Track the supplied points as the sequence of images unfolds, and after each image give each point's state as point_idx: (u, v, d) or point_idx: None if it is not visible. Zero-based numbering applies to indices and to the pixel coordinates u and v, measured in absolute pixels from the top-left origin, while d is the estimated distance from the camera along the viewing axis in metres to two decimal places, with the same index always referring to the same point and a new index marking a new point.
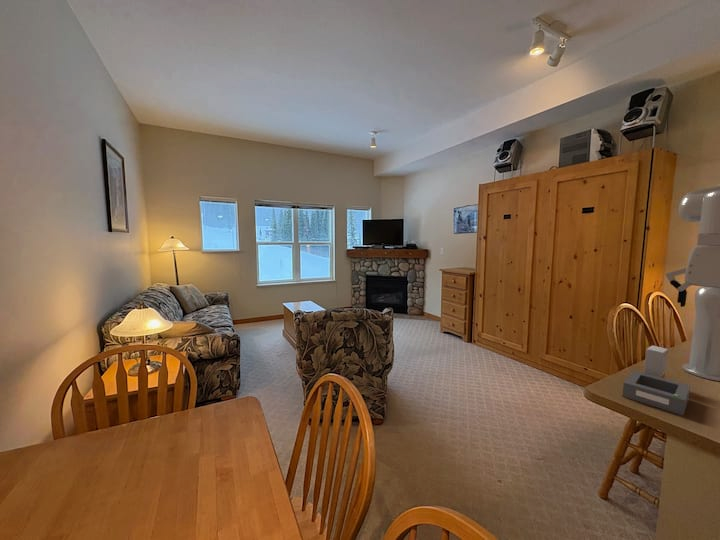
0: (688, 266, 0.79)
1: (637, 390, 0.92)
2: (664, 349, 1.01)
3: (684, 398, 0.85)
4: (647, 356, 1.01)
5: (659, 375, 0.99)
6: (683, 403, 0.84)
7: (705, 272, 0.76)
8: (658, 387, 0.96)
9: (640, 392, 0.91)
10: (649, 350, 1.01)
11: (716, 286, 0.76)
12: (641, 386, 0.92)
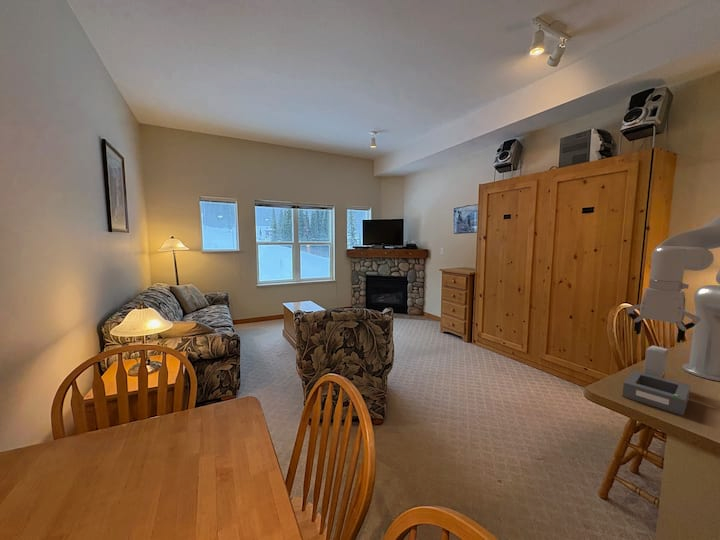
0: (641, 303, 1.02)
1: (637, 390, 0.92)
2: (664, 349, 1.01)
3: (684, 398, 0.85)
4: (647, 356, 1.01)
5: (659, 375, 0.99)
6: (683, 403, 0.84)
7: (653, 309, 0.99)
8: (658, 387, 0.96)
9: (640, 392, 0.91)
10: (650, 350, 1.01)
11: (661, 320, 0.98)
12: (641, 386, 0.92)
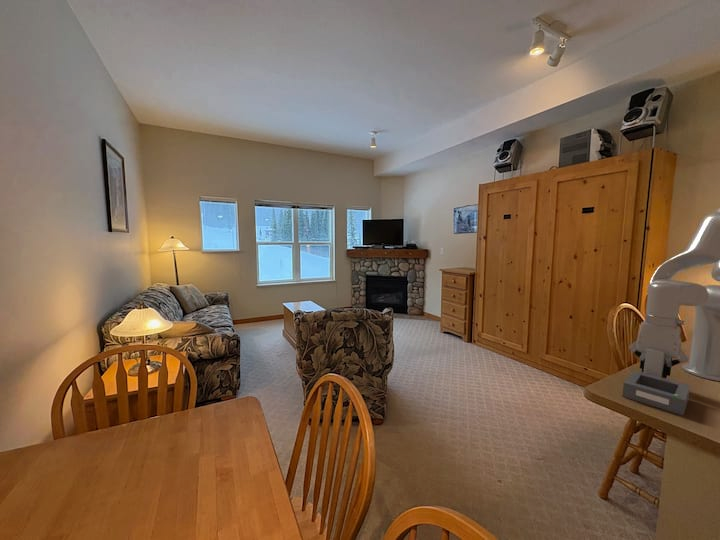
0: (638, 337, 1.03)
1: (637, 390, 0.92)
2: None
3: (684, 398, 0.85)
4: (647, 356, 1.01)
5: (659, 375, 0.99)
6: (683, 403, 0.84)
7: (650, 343, 1.01)
8: (658, 387, 0.96)
9: (640, 392, 0.91)
10: (650, 350, 1.01)
11: None
12: (641, 386, 0.92)
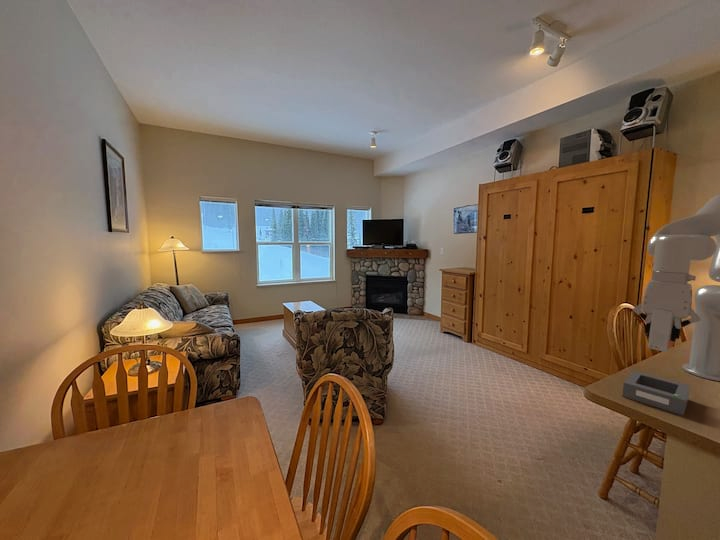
0: (644, 297, 0.93)
1: (637, 390, 0.92)
2: None
3: (684, 398, 0.85)
4: (654, 317, 0.91)
5: (667, 338, 0.89)
6: (683, 403, 0.84)
7: (657, 303, 0.91)
8: (658, 387, 0.96)
9: (640, 392, 0.91)
10: (656, 310, 0.91)
11: None
12: (641, 386, 0.92)
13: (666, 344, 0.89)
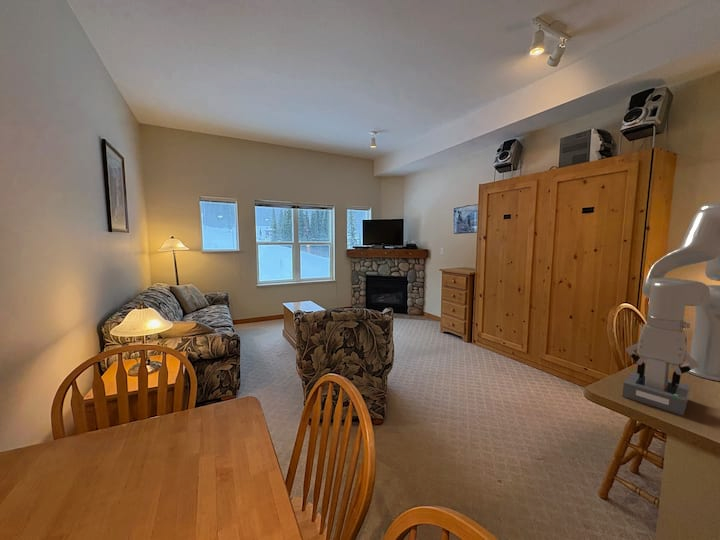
0: (639, 341, 0.94)
1: (637, 390, 0.92)
2: None
3: (684, 398, 0.85)
4: (648, 366, 0.92)
5: (662, 387, 0.90)
6: (683, 403, 0.84)
7: (652, 348, 0.91)
8: None
9: (640, 392, 0.91)
10: (651, 359, 0.92)
11: None
12: (641, 386, 0.92)
13: None
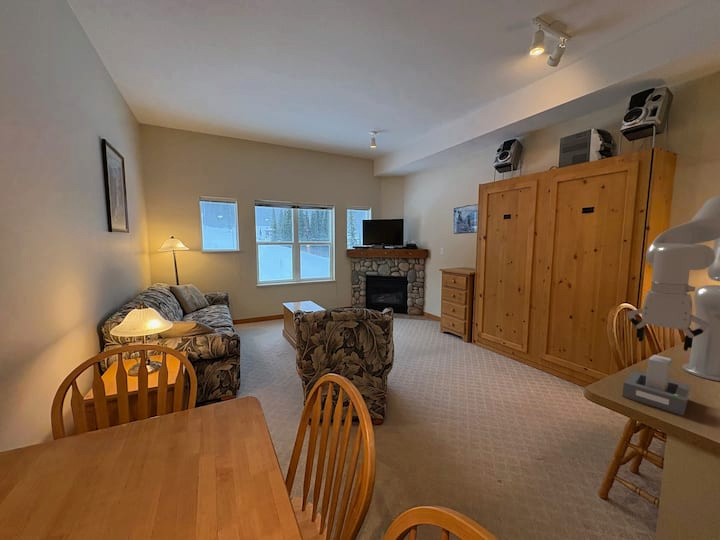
0: (644, 308, 0.93)
1: (637, 390, 0.92)
2: (667, 359, 0.92)
3: (684, 398, 0.85)
4: (649, 367, 0.92)
5: (663, 388, 0.90)
6: (683, 403, 0.84)
7: (657, 314, 0.90)
8: None
9: (640, 392, 0.91)
10: (652, 360, 0.91)
11: (666, 326, 0.89)
12: (641, 386, 0.92)
13: None
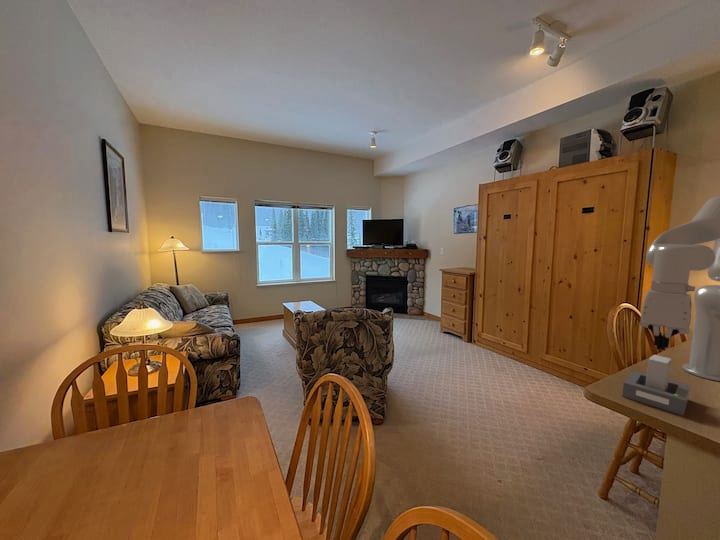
0: (643, 307, 0.93)
1: (637, 390, 0.92)
2: (667, 359, 0.92)
3: (684, 398, 0.85)
4: (649, 367, 0.92)
5: (663, 388, 0.90)
6: (683, 403, 0.84)
7: (656, 314, 0.90)
8: None
9: (640, 392, 0.91)
10: (652, 360, 0.91)
11: (665, 326, 0.89)
12: (641, 386, 0.92)
13: None
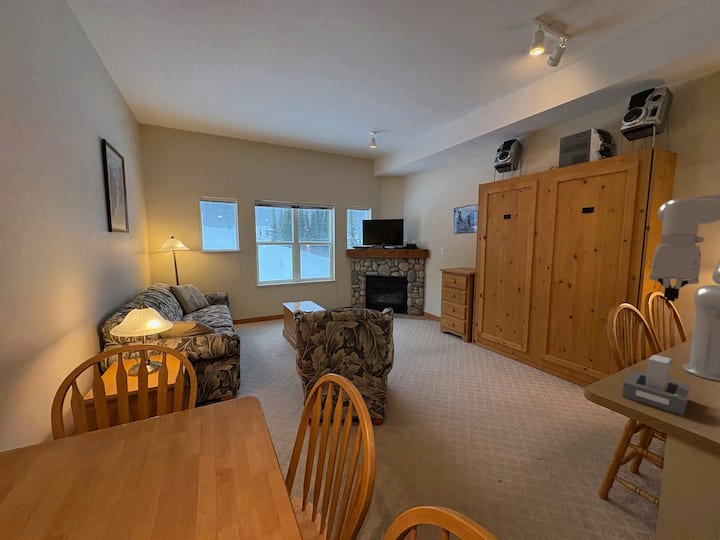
0: (653, 261, 0.96)
1: (637, 390, 0.92)
2: (667, 359, 0.92)
3: (684, 398, 0.85)
4: (649, 367, 0.92)
5: (663, 388, 0.90)
6: (683, 403, 0.84)
7: (666, 266, 0.93)
8: None
9: (640, 392, 0.91)
10: (652, 360, 0.91)
11: (675, 277, 0.93)
12: (641, 386, 0.92)
13: None
